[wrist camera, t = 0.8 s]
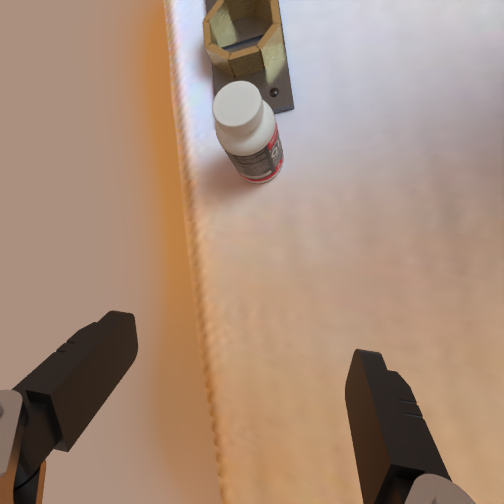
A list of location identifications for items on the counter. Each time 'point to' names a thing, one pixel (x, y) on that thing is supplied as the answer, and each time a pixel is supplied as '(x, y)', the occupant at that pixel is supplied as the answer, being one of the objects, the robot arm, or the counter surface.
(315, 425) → the counter surface
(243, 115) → the pill bottle
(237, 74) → the octagonal bottle holder
